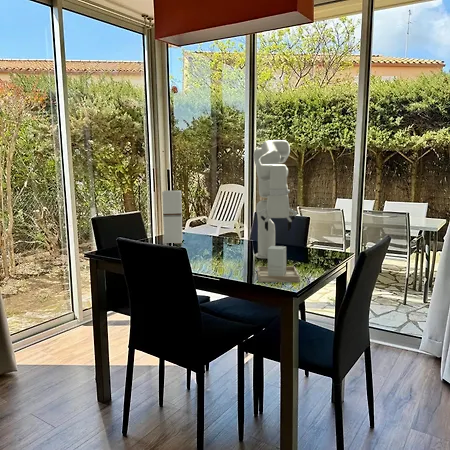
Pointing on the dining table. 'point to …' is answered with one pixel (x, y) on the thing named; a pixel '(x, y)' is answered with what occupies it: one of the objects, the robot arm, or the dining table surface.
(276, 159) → the robot arm
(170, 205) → the white tall box
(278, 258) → the supplement box
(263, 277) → the tray
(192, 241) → the dining table surface
